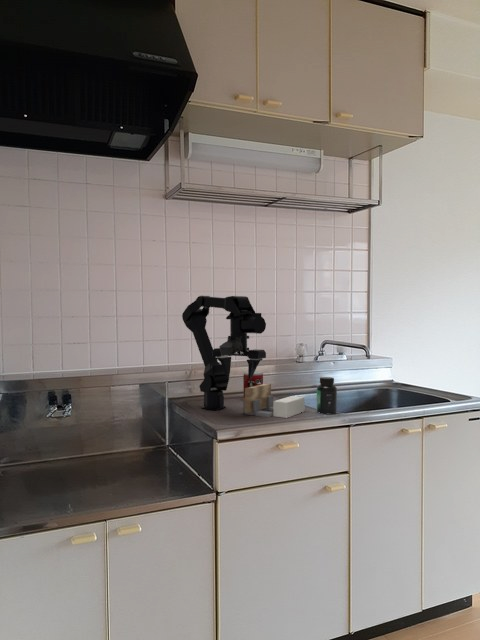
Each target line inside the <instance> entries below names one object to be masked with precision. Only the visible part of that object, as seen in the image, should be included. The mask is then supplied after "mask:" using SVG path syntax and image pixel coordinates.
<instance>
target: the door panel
mask: <svg viewBox="0 0 480 640" xmlns="http://www.w3.org/2000/svg"><path fill="white" fill-rule="evenodd" d="M268 396H272V383H263V384H262V385H257V386H253V387H249V388H245V412H249V413H250V412H253V400H257V399H260V409H264V408H267V397H268Z"/></svg>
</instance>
